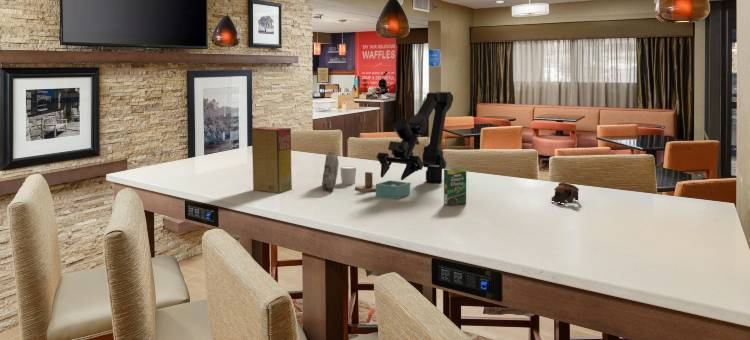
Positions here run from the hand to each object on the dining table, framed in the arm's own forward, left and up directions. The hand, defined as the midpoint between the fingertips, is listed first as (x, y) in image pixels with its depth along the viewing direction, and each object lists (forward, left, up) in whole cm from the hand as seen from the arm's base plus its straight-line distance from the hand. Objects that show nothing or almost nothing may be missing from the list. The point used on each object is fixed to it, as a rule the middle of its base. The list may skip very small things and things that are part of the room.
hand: (391, 178), depth 220 cm
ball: (-1, -1, -6) cm, 7 cm away
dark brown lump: (-65, +1, -7) cm, 65 cm away
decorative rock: (+26, -9, -7) cm, 29 cm away
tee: (+10, -9, -7) cm, 16 cm away
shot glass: (+21, -21, -7) cm, 31 cm away
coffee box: (-25, +11, -7) cm, 28 cm away
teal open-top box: (-1, -1, -7) cm, 7 cm away
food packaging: (+48, -2, -7) cm, 49 cm away
